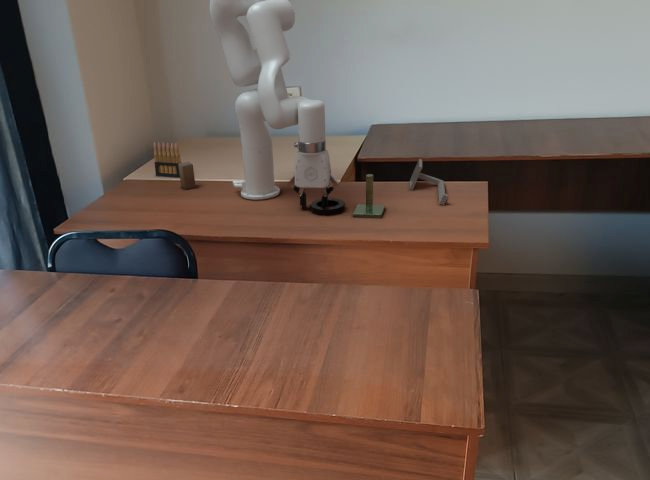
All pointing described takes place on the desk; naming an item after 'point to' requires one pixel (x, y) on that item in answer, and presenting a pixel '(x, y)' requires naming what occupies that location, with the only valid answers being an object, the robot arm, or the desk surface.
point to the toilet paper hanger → (422, 176)
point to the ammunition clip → (167, 160)
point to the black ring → (319, 210)
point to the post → (369, 203)
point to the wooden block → (186, 175)
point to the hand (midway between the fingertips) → (314, 207)
